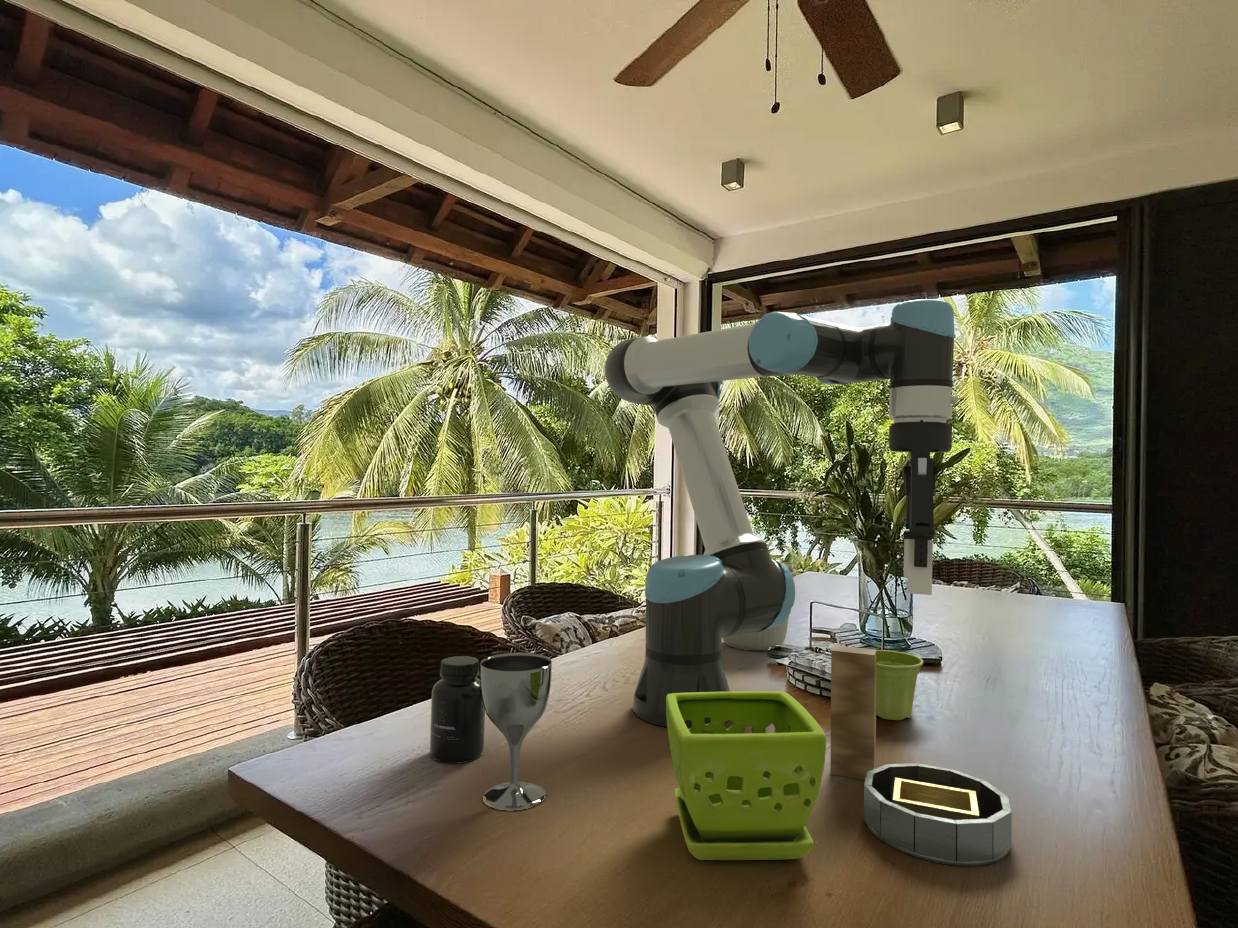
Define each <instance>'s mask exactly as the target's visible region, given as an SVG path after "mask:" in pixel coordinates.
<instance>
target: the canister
mask: <svg viewBox="0 0 1238 928" xmlns="http://www.w3.org/2000/svg"><path fill="white" fill-rule="evenodd" d="M780 562H781V563H782V564H785V565H786V566H787V567H788V569H789V570H790V572H791V574H792V576H793V577H794V576H795V575H796V574H797V572H798V571H797V569H796V568H792V566H791V565H790V564H787V563H786V562H782V561H780ZM789 617H790V615H789V616H788V617H787V619H786V620H785V621H784V622H783V623H781V624H780V625H778V626H776V627H774V628H770V629H767V630H764V631H762V632H758V633H755V632H750V633H744V634H739V635H733V636H728V637H722V640H723V643H725V644H726V645H727V646H728V647H729V646H730V647H731V648H733V649H734V648H735V649H738V650H743V649H747V650H746V651H751V650H766V651H769V650H768V649H769V647H771V646H776V645H781V646H783V644H784V642H785V641H786V640H785V639H786V637H787V631H788V624H789Z"/></svg>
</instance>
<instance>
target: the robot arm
mask: <svg viewBox="0 0 1238 928" xmlns="http://www.w3.org/2000/svg"><path fill="white" fill-rule="evenodd" d="M956 337H957V336H956V333H955V318H954V308H953V306H952V305H951V304H950V303H948V302H947V301H945V300H941V299H934V298H933V299H929V298H927V299H926V298H925V299H912V300H907V301H904V302H901V303H898V304H896V305H895V306H894V307H893V309H892V310H891V317H890V322H887V323H886V322H885V323H883V324H879V325H878V324H877V325H872V326H865V327H853V326H848V325H846V324H845V325H844V324H838V323H835V322H830V321H825V320H822V319H818V318H812V317H810V316H805V315H802V314H798V313H795V312H791V311H790V312H781V311H772V312H771V311H770V312H768V313H766V314H764V315H763V316H762V317H761V318H760V319H759V320H757V321H756V322H755V323H749V324H744V325H739V326H732V327H727V328H721V329H716V330H710V331H705V332H698V333H693V334H687V335H681V336H676V337H675V336H674V337H671V338H665V339H657V338H655V337H653V336H652V337H651V336H640V337H634V338H628V339H624V340H622V341H620V342H619V343H617V344H616V345H615V346H613V347H612V349H610V352H608V355H607V358H606V360H605V364H604V375H605V379H606V382H607V385H608V387H609V388H610V389H611V392H613V393H614V394H615V395H616V396H617V397H618V398H620V399H621V400H624V401H626V402H629V403H632V404H637V405H644V406H645V405H647V406H652V407H653V410H654V413H655V416H656V420H657V422H658V424H659V425H661V426H662V427H665V428H667V429H668V431H669V435H670V437H671V440H672V444H673V448H674V450H675V454H676V457H677V460H678V464H679V467H680V471H681V474H682V476H683V480H684V484H685V487H686V490H687V493H688V498H689V499H690V503H691V507H692V510H693V513H694V517H695V521H696V523H697V526H698V530H699V533H700V536H701V540H702V544H703V546H704V552H703V554H689V555H678V556H671V557H667V558H664V559H660V560H657V561H656V562H654V563H653V564H652V565H651V566H650V567H649V568H648V571H647V575H646V587H645V589H644V596H645V652H644V653H645V654H644V655H645V657H644V663H643V667H642V669H641V672H640V675H639V679H638V681H637V684H636V687H635V690H634V694H633V698H632V701H633V702H632V704H633V705H632V707H633V709H632V710H634V711H633V713H634V712H635V713H634V715H635V714H636V715H637V716H636V717H637V718H639V717H640V718H639V719H640V720H642V719H643V720H642V721H644V720H645V722H647V723H650V724H653V725H657V726H661V727H667V718H666V696H667V695H668V694H672V693H689V692H728V691H730V686H729V684H728V680H727V677H726V673H725V670H724V667H723V664H722V640H723V639H722V637H728V636H733V635H739V634H744V633H750V632H755V633H758V632H762V631H764V630H767V629H770V628H774V627H776V626H778V625H780V624H781V623H783V622H784V621H785V620H786V619H787V617H788V616H789V617H790V614H791V612H792V608H793V606H794V605H795V601H796V600H795V599H796V583H795V580H794V576H792V574H791V572H790V570H789V569H788V567H787V566H786V565H785V564H782V563H783V562H782V561H781V560H779V559H777V558H773V557H772V556H771V554H770V550H769V547H768V545H767V542H766V541H765V540H763V539H761V538H759V537H757V536H756V535H755V533H754V532H753V529H752V525H751V522H750V519H749V517H748V514H747V511H746V508H745V503H744V501H743V498H742V494H741V492H740V489H739V487H738V483H737V480H736V477H735V474H734V471H733V469H732V465H731V462H730V459H729V457H728V453H727V449H726V447H725V445H724V441H723V438H722V435H721V432H720V430H719V426H718V423H717V419H716V416H715V412H716V410H717V409H718V407H719V399H720V397H721V394H722V392H723V389H722V388H721V385H723V384H724V381H734V380H743V379H755V378H763V377H764V378H765V377H779V376H792V375H797V376H805V377H807V376H808V377H812V378H816V379H818V381H819V382H820V383H821V384H824V385H841V386H847V385H849V384H852V383H853V384H854V383H855V384H856V383H863V382H871V381H881V380H882V381H883V380H890V381H889V383H890V384H889V386H890V387H889V399H888V400H889V402H888V403H889V404H888V405H889V407H888V408H889V409H888V418H890V420H893V422H892V423H891V424H890V425H889V427H888V428H889V429H888V431H889V432H888V448H889V450H890V451H891V452H893V453H895V452H896V453H909V459H908V458H907V460H906V462H905V465H903V466H902V472H901V473H902V474H901V476H902V480H903V494H904V495H905V516H904V519H903V521H904V528H905V530H903V533H902V534H903V536H902V537H903V540H904V542H903V543H904V544H903V547H904V548H903V549H904V550H903V552H904V553H903V578H907V580H906V581H907V582H906V594H914V595H924V596H925V595H927V596H932V595H933V593H932V592H933V591H932V590H933V557H934V556H933V555H934V553H933V552H934V540H933V539H934V535H935V533H936V528H934V527H935V525H934V524H935V522H934V519H935V517H934V516H935V515H934V508H935V507H934V497H935V494H936V480H937V475H938V468H937V466H935V464H936V463H935V460H934V457H931V453H936V454H937V453H948V452H949V453H950V451H951V450H952V448H953V447H952V446H953V426H952V425H951V423H950V422H949V423H948V422H947V420H950V419H951V418H952V417H953V405H952V404H956V403H958V402H959V398H958V396H957V395H951V394H952V393H953V384H954V383H953V375H954V374H953V372H954V353H955V352H954V349H955V339H956ZM781 562H782V563H781ZM709 723H710V718H706V719H705V724H709ZM685 724H686V726H687V728H688V729H690V728H691V721H690V720H687V721H685Z"/></svg>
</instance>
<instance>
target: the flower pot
mask: <svg viewBox="0 0 1238 928" xmlns="http://www.w3.org/2000/svg"><path fill="white" fill-rule="evenodd" d="M666 718H667V734H668V735H667V736H668V743H669V749H670V754H671V756H670V757H671V760H672V761H671V762H672V766H673V770H674V771H673V772H674V774H675V777H676V780H677V784H678V788H674V792H673V793H674V799H675V804H676V808H677V814H678V817H679V822H680V826H681V830H682V834H683V838H684V842H685V845H686V846H687V850H688V851H689V852H690V854H691V855H692V856H693V857H694V859H695V860H697V861H704V860H705V861H762V860H763V861H766V860H767V861H769V860H770V861H773V860H776V861H777V860H796V859H797V860H799V859H800V858H801V859H802V857H805V856H806V855H808V854H809V853H810V852H811V851H812V850H813V848H814V845H815V843H814V840H813V838H812V836H811V834H810V832H809V830H808V828H807V827H806V824H807V823H808V821H809V820H810V817H811V815H812V813H813V811H814V808H815V805H816V802H817V800H818V796H819V792H820V789H821V783H822V779H823V774H824V769H825V763H826V762H825V760H826V751H827V749H826V748H827V737H826V736H827V735H826V733H825V731H824V730H823V728H822V727H821V726H820V724H819V723H818V722H817V720H816V719H815V718H814V717H813V716H812V714H810V713H809V711H808V710H807V709H806V708H805V707H804V706H803V705H802V704H801V703H800V702H799V701H797V700H796V699H795V698H794V697H793V696H791V694H789V693H787V692H786V691H780V690H775V691H773V690H771V691H770V690H764V691H763V690H761V691H760V690H759V691H758V690H756V691H755V690H750V691H749V690H747V691H744V690H743V691H740V690H739V691H735V690H734V691H728V692H689V693H672V694H668V695H667V696H666ZM706 718H710V723H709V724H705V719H706ZM687 720H690V721H691V728H687V726H686V724H685V721H687ZM729 721H730V722H731V725H730V726H729V727H728V728H726V725H725V724H726V723H727V722H729ZM770 725H773V727H774V732H767V731H766V729H767V728H768V727H769V726H770ZM749 727H750V728H751V733H745V729H746V728H749ZM704 732H708V733H704Z"/></svg>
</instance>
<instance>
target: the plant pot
mask: <svg viewBox="0 0 1238 928" xmlns="http://www.w3.org/2000/svg"><path fill="white" fill-rule="evenodd" d="M923 665H924V660H923V659H922V657H919V656H917V655H915V654H912V653H911V654H910V653H907V652H904V651H903V652H902V651H894V650H886V649H885V650H883V649H876V716H878V717H879V718H880V719H883V720H890V721H903V720H904V719H906V718H908V719H909V718H911V715H912V711H913V705H914V697H915V691H916V685H917V680H918V675H919V673H920V670H921V667H922V666H923Z"/></svg>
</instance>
